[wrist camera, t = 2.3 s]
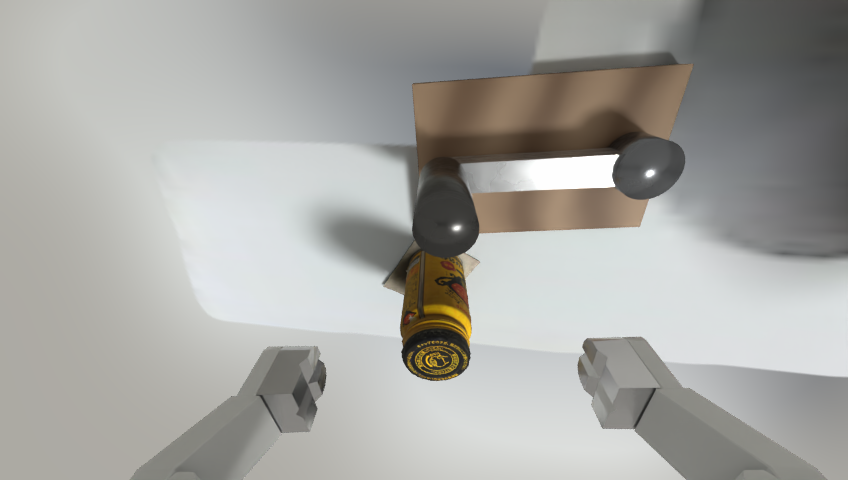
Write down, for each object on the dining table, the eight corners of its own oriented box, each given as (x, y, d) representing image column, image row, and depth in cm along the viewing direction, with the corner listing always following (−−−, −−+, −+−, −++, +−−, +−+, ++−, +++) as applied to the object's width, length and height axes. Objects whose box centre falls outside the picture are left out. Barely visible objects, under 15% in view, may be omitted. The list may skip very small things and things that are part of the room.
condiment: (480, 260, 32) (500, 354, 22) (437, 310, 36) (438, 409, 26) (421, 228, 31) (414, 314, 20) (383, 284, 34) (361, 379, 24)
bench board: (679, 63, 23) (693, 64, 21) (630, 219, 29) (639, 226, 28) (413, 83, 24) (412, 84, 23) (424, 228, 30) (423, 235, 29)
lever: (666, 129, 23) (814, 172, 14) (648, 184, 25) (766, 252, 16) (418, 144, 24) (408, 193, 15) (422, 195, 26) (415, 264, 17)
